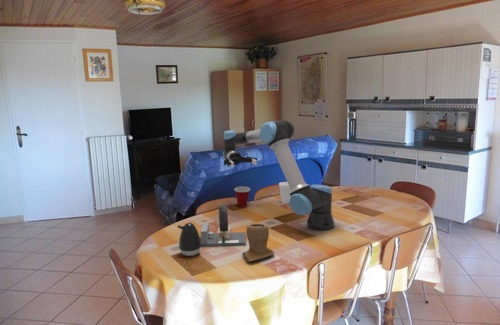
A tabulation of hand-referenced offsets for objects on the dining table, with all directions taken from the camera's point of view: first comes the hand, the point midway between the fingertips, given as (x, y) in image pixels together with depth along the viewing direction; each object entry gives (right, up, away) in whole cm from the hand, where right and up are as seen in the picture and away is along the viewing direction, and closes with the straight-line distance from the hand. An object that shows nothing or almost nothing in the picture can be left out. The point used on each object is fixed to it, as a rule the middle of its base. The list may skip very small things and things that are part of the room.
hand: (244, 163), depth 210 cm
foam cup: (+28, -27, +47) cm, 61 cm away
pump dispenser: (-25, -42, -33) cm, 59 cm away
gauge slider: (-10, -38, -20) cm, 44 cm away
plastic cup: (-2, -28, +40) cm, 49 cm away
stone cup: (+6, -43, -37) cm, 57 cm away
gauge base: (-9, -39, -18) cm, 44 cm away
